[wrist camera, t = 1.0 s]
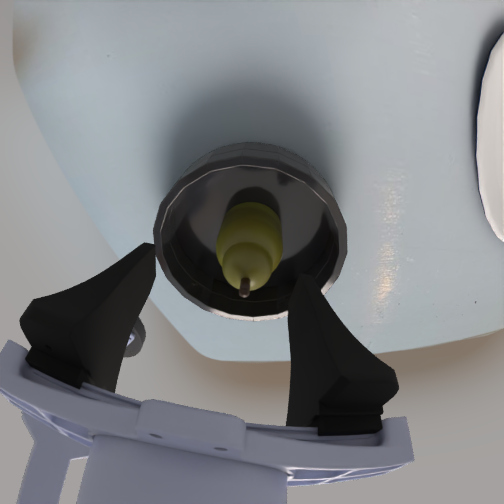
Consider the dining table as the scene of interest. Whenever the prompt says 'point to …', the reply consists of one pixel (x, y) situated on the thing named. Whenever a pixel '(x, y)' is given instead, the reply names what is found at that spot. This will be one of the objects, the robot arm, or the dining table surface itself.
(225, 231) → the pear
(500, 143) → the plate
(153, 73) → the dining table surface
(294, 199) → the pan
